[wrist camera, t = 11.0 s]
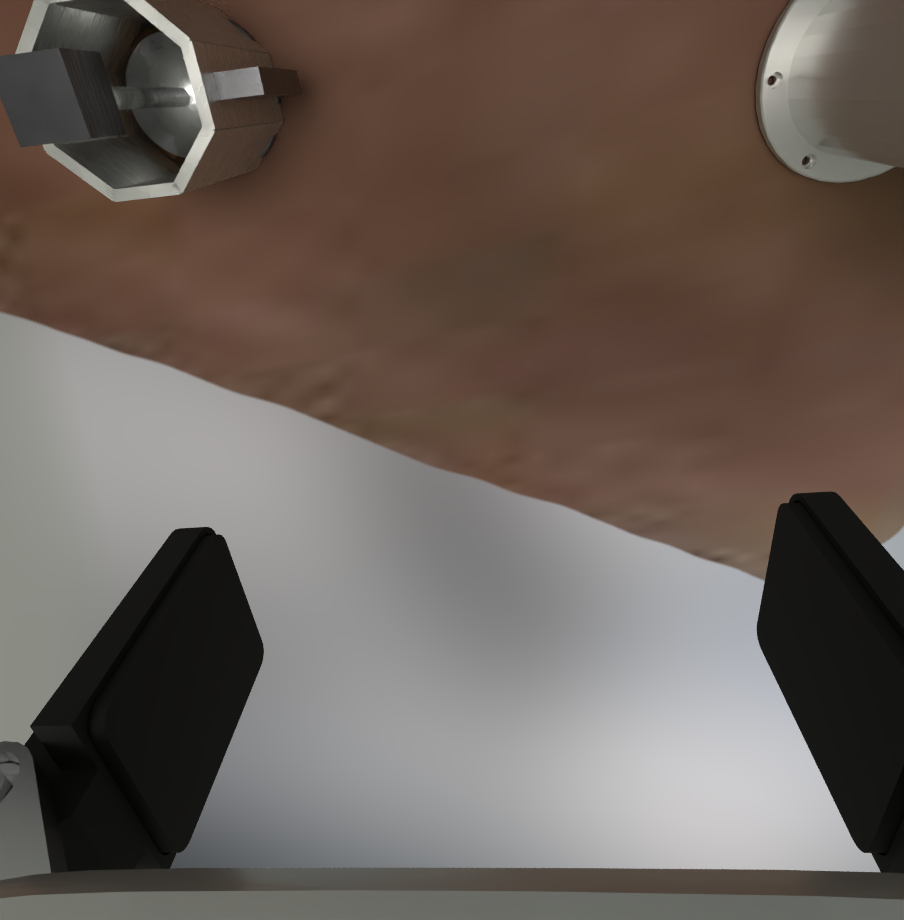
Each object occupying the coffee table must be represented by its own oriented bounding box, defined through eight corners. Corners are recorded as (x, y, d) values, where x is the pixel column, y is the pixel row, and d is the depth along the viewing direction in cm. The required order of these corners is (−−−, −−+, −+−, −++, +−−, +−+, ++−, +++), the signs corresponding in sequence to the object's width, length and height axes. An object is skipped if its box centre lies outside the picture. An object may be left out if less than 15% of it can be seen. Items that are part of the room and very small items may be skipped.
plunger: (223, 24, 36) (81, -12, 24) (253, 150, 39) (143, 177, 27) (115, 39, 37) (-77, 12, 24) (154, 162, 40) (2, 194, 28)
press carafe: (296, -7, 38) (222, -44, 28) (328, 163, 43) (275, 185, 32) (116, 20, 39) (-19, -6, 29) (166, 182, 44) (66, 209, 34)
